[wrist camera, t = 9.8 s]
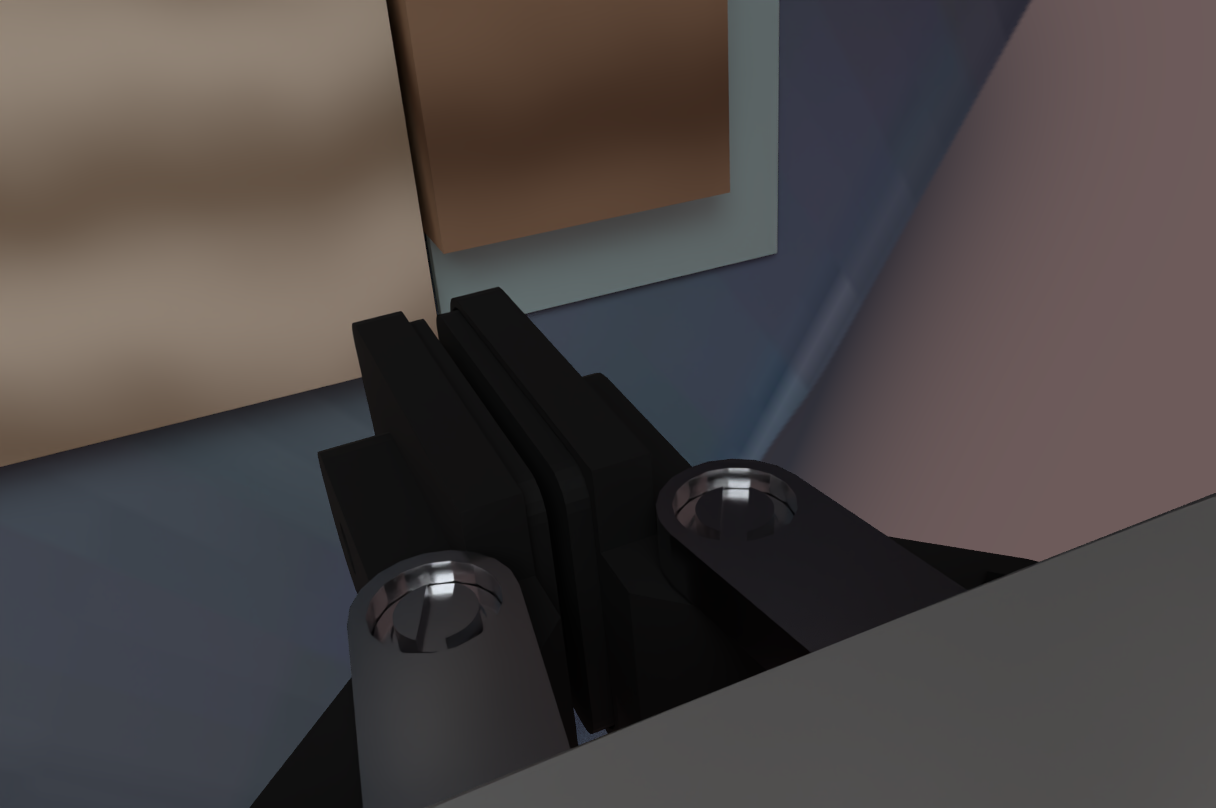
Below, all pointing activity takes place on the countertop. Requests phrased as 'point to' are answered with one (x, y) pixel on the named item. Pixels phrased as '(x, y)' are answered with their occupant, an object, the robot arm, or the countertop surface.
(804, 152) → the countertop surface
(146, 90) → the ash deck
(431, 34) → the walnut tile
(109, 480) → the countertop surface
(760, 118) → the teal mat
